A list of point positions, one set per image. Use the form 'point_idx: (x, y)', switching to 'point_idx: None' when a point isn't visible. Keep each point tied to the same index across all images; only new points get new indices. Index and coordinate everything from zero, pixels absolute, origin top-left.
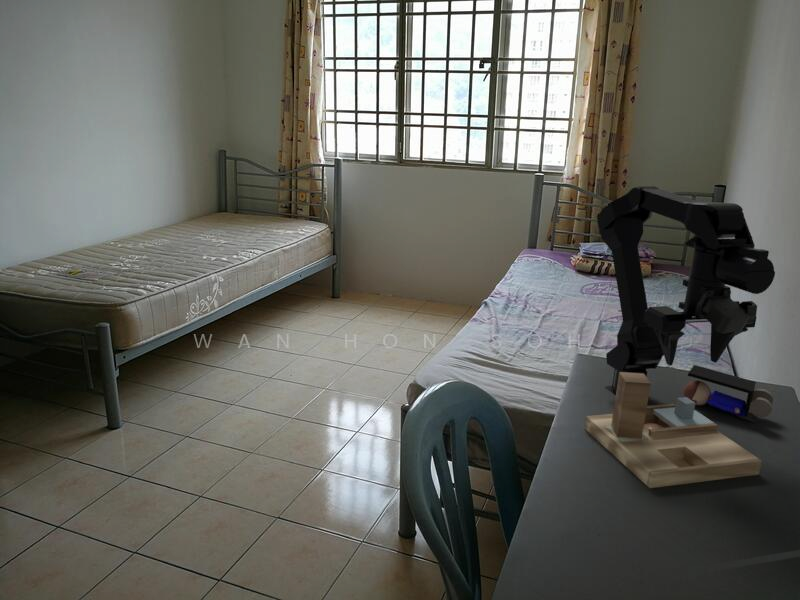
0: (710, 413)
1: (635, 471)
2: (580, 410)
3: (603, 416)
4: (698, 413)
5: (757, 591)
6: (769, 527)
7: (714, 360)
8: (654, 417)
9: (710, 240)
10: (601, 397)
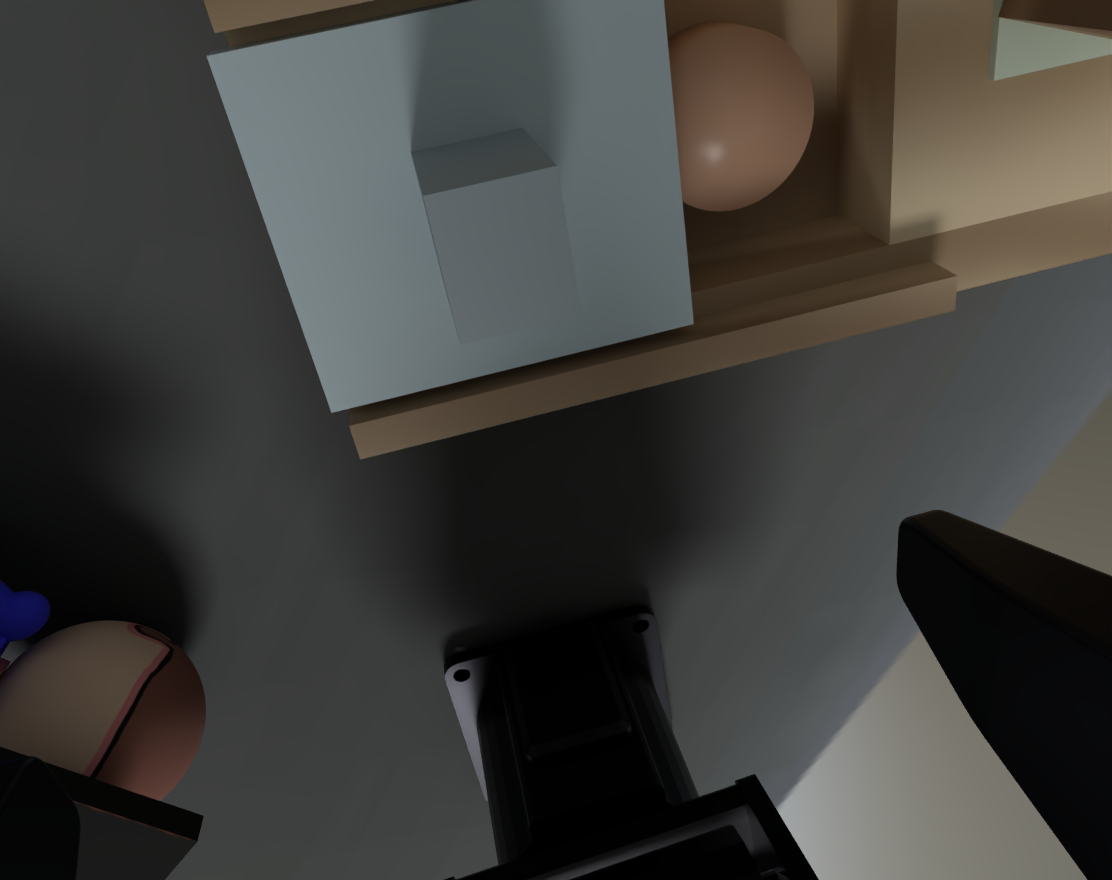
0: (41, 536)
1: None
2: (957, 473)
3: (1090, 232)
4: (297, 269)
5: None
6: None
7: (34, 787)
8: None
9: None
10: (738, 644)
